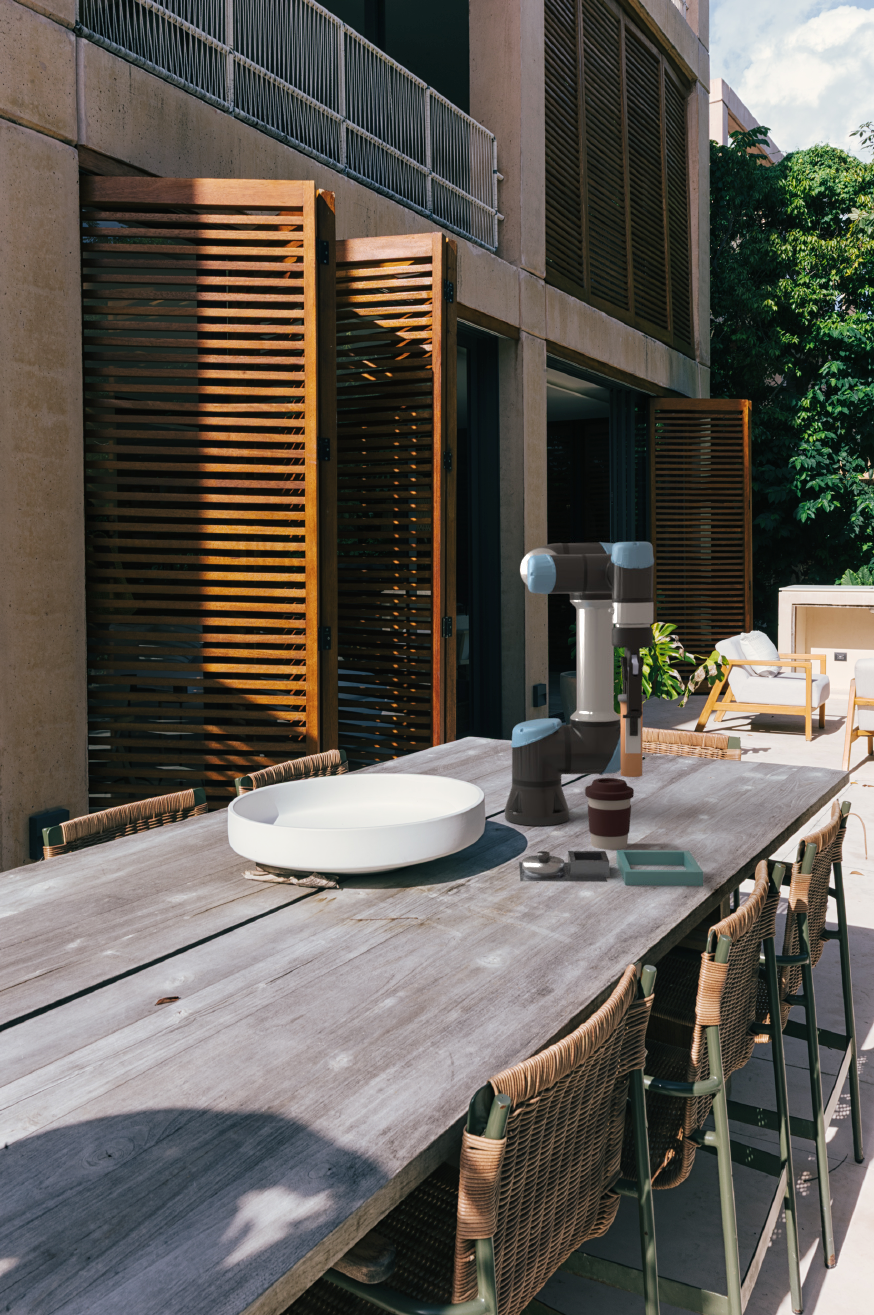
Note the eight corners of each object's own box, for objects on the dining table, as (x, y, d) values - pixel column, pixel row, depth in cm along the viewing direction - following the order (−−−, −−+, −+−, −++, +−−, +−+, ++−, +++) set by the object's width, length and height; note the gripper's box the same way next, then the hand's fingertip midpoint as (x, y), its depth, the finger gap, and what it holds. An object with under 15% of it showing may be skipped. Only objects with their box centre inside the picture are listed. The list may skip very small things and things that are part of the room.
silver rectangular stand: (519, 869, 200) (519, 844, 200) (604, 870, 199) (604, 844, 199) (520, 888, 189) (520, 861, 188) (610, 889, 188) (610, 862, 187)
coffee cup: (633, 859, 206) (633, 786, 205) (583, 857, 208) (583, 785, 207) (633, 846, 216) (633, 776, 215) (586, 844, 218) (586, 775, 217)
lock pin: (616, 772, 193) (617, 693, 192) (643, 772, 193) (643, 693, 191) (619, 777, 188) (619, 697, 187) (646, 777, 188) (646, 697, 186)
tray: (616, 870, 199) (616, 850, 199) (688, 870, 198) (688, 850, 198) (625, 892, 185) (625, 871, 185) (703, 893, 185) (703, 872, 184)
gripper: (608, 623, 197) (608, 743, 199) (615, 628, 180) (615, 758, 182) (647, 623, 196) (647, 743, 198) (658, 627, 179) (657, 759, 181)
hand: (631, 750), depth 190 cm, fingers closed on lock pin, 4 cm apart
